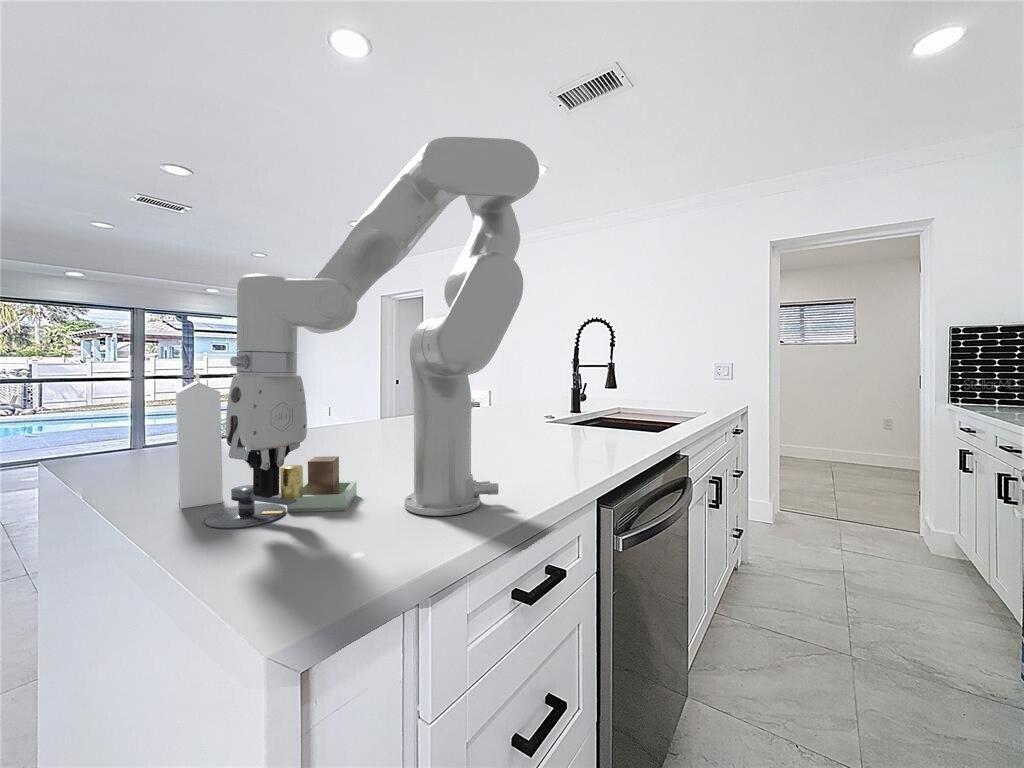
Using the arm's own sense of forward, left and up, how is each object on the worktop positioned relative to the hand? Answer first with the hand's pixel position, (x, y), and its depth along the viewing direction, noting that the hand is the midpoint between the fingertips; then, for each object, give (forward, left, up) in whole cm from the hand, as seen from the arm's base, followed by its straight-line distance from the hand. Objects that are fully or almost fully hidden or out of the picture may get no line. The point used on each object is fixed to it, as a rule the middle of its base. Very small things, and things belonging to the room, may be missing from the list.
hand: (266, 495), depth 69 cm
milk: (+17, -16, -5) cm, 24 cm away
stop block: (-4, -13, -5) cm, 15 cm away
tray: (-4, -13, -5) cm, 15 cm away
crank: (+2, -5, -2) cm, 6 cm away
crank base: (+6, -7, -5) cm, 10 cm away
